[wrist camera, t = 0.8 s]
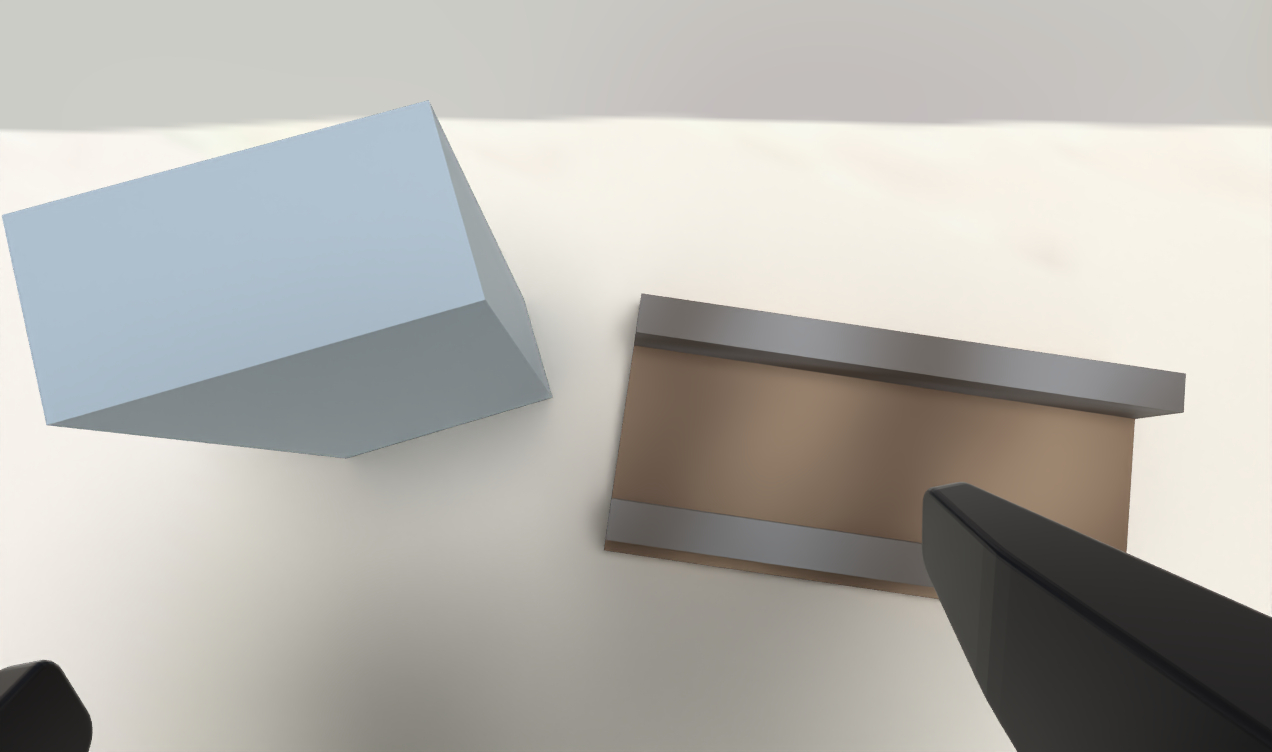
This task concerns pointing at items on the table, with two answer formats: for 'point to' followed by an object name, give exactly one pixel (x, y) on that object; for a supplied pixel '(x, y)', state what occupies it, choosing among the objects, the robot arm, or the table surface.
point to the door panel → (279, 297)
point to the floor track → (856, 441)
